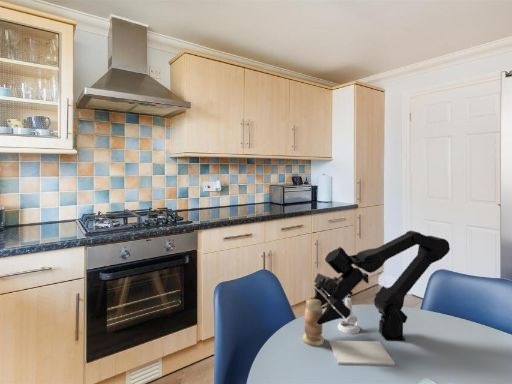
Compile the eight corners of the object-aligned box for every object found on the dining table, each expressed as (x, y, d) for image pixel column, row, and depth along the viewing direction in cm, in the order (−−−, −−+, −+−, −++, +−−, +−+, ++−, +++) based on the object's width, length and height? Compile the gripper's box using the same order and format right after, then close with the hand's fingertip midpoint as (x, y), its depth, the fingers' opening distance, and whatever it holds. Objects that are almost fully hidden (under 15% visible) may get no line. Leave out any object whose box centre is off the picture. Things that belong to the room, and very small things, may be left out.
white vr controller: (350, 304, 119) (360, 299, 114) (354, 338, 113) (365, 334, 107) (332, 301, 118) (342, 296, 112) (335, 335, 111) (345, 332, 105)
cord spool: (321, 335, 105) (322, 297, 105) (325, 346, 98) (326, 305, 98) (301, 335, 105) (301, 297, 105) (304, 346, 99) (304, 305, 98)
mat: (379, 343, 100) (379, 341, 100) (394, 365, 88) (395, 363, 88) (329, 342, 101) (329, 340, 101) (338, 364, 89) (338, 362, 89)
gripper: (320, 258, 111) (289, 290, 110) (341, 274, 92) (304, 312, 91) (341, 280, 112) (310, 311, 111) (365, 299, 94) (329, 337, 93)
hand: (313, 317), depth 102 cm, fingers open, 9 cm apart
